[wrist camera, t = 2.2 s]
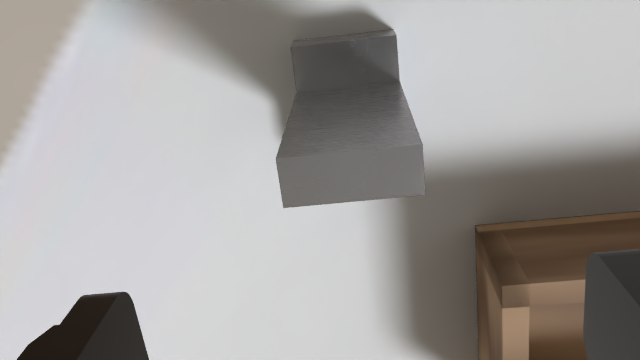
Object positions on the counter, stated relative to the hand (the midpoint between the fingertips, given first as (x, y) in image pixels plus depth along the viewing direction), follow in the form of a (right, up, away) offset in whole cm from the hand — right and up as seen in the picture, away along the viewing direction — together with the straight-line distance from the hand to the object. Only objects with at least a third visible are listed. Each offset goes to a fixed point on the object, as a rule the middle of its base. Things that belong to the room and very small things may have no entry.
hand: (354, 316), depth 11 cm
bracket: (+1, +6, +14) cm, 16 cm away
